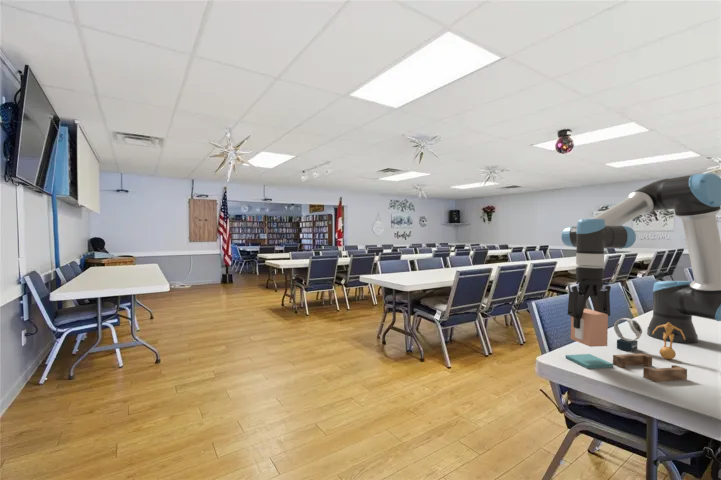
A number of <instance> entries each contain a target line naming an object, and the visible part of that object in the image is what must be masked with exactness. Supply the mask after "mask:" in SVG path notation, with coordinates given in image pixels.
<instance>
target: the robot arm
mask: <svg viewBox="0 0 721 480" xmlns="http://www.w3.org/2000/svg"><path fill="white" fill-rule="evenodd" d="M662 210H663V211H664V210H674V214H675V217H677V218H679V219H681V222H682V225H683V231H684V235H685V236H684V237H685V241H686V245H687V251H688V255H689V260H690V265H691V271H692V275H693V280H692V281H691V280H665V281H663V280H662V281H661V280H658V281H656V282H654V284H653V287H652V288H653V289H652V295H653V296H652V318H651V320H650V322H649V324H648V327H647V329H646V334H647V335H648V336H650V337H652V338H655V339H659V340H663V341H664V339H663V333H664V332H665V333H666V330H665V327H660V328H658V329H657V330H656V331H655V332H654V334H652V333H653V331H654V330H655V329H656V327H657V326H661V325H665V324H667V323H668V322H669V323H671V324H672V325H673V326H675V327H677V328H679V329H680V330H682V332H683V334H684V336H685V339H684V338H683V336H682V334H681V332H680V331H679V330H676V329H673V331H672V333H671V334H674V339H673V341H672V342H673V343H682V344H683V343H684V344H694V343H698V342H699V340H698V339H699V336H698V334H697V332H696V329H695V326H694V324H693V323H694V322H693V317H698V318H703V319H708V320H713V321H716V322H721V236H720V231H719V225H718V221H717V214H718V213H719V212H720V211H721V177H720V176H718V175H717V174H715V173H696V174H695V173H694V174H690V175H689V174H688V175H683V176H677V177H670V178H669V177H668V178H663V179H659V180H656V181H653V182H651V183H649V184H646V185H644V186H642V187H641V188H638V189H636V190H635V191H633V192H630V194H628V195H627V196H626V199H624V200H621V201H620V202H618V203H617V204H615V205H613V206H611V207H610V208H608V209H606V210H604V211H603V212H601V213H599V214H597V215H595V216H594V217H591V218H582V219H578V221H577V224H576V226H570V227H565V228H564V229H563V231H562V232H561V241H562V243H563V245H565V246H567V247H572V248H576V249H575V250H576V251H575V253H576V255H575V256H576V257H575V259H576V260H575V265H576V267H575V278H576V283H575V284H573V285H571V284H569V285H568V286H567V288H568V301H567V302H568V304H567V305H568V306H567V315H568V316H570V317H571V316H572V317H573V318H574V324H573V326H574V328H575V337H576V338H578V339H581V340H583V337H584V319H581V318H582V314H583V311H584V309H586V308H585V307H586V304H587V301H588V299H589V298H591V302H592V306H593V309H594V311H598V312H601V313H605V314H608V317H610V316H611V300H610V299H611V298H610V296H611V295H610V292H611V289H612V287H611V285H606V284H604V283H603V280H604V278H605V269H604V268H603V267H605V249H618V250H619V249H620V250H622V249H628V248H630V247H632V246H633V245H634V244H635V242H636V239H637V235H636V234H637V233H636V232H635V230H634V229H633V228H631V227H630V226H627V225H625V224H626V223H629V222H630V221H631V220H633V219H636V218H637V217H639V216H642V215H643V216H646V215H647V214H650V213H651V212H655V211H662ZM665 340H666V342H667V341H668V342H670V341H671V340H670V338H669V336H667V338H666V339H665Z"/></svg>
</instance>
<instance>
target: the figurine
mask: <svg viewBox="0 0 721 480" xmlns="http://www.w3.org/2000/svg"><path fill="white" fill-rule="evenodd" d="M660 327H665V330H666V333H665V332H664V333H663V339H664V340H663V342H664V344H663V346H662V347H660V349H659V354H660V357H662V358H664V360H665V359H666V360H673V359H675V357H676V351H675V350H674V349H673V348H672V347H673V343H674V342H673V339H674V334H671V333H672V331H673V329H676V330H679V331H680V332H681V334H682V336H683V338H684V339H685V336H684V334H683V332H682V330H680V329H679V328H677V327H675V326H673V325H672V324H671V323H669V322H668V323H667V324H665V325H661V326H657V327H656V329H655V330H654V331H653V333H652V334H654V332H655V331H656V330H657V329H658V328H660ZM667 336H669V338H670V340H671V341H669V346H667V340H665V339H666V338H667Z"/></svg>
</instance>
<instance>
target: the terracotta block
mask: <svg viewBox="0 0 721 480" xmlns="http://www.w3.org/2000/svg"><path fill="white" fill-rule="evenodd" d="M581 319H584V337H583V340H581V339H578V338H576V337H575V328H574V326H573V324H574V318H573V317H572V316H570V340H572V341H575V342H577V343H579V344H582V345H585V346H587V347H592V348H594V347H608V331H609V330H608V329H609V326H608V325H609V316H608V314H605V313H601V312H598V311H595V310H593V309H589V308H584V311H583V314H582V318H581Z"/></svg>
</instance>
